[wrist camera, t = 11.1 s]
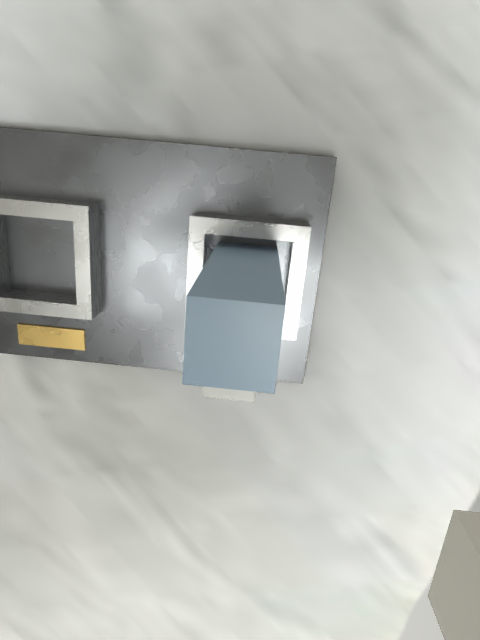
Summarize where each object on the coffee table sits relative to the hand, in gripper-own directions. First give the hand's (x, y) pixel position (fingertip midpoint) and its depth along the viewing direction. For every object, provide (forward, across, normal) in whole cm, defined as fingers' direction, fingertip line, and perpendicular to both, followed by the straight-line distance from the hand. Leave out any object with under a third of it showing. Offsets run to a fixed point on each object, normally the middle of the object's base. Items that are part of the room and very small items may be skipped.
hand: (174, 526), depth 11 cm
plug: (+22, +1, +1) cm, 22 cm away
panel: (+23, -6, +1) cm, 23 cm away
